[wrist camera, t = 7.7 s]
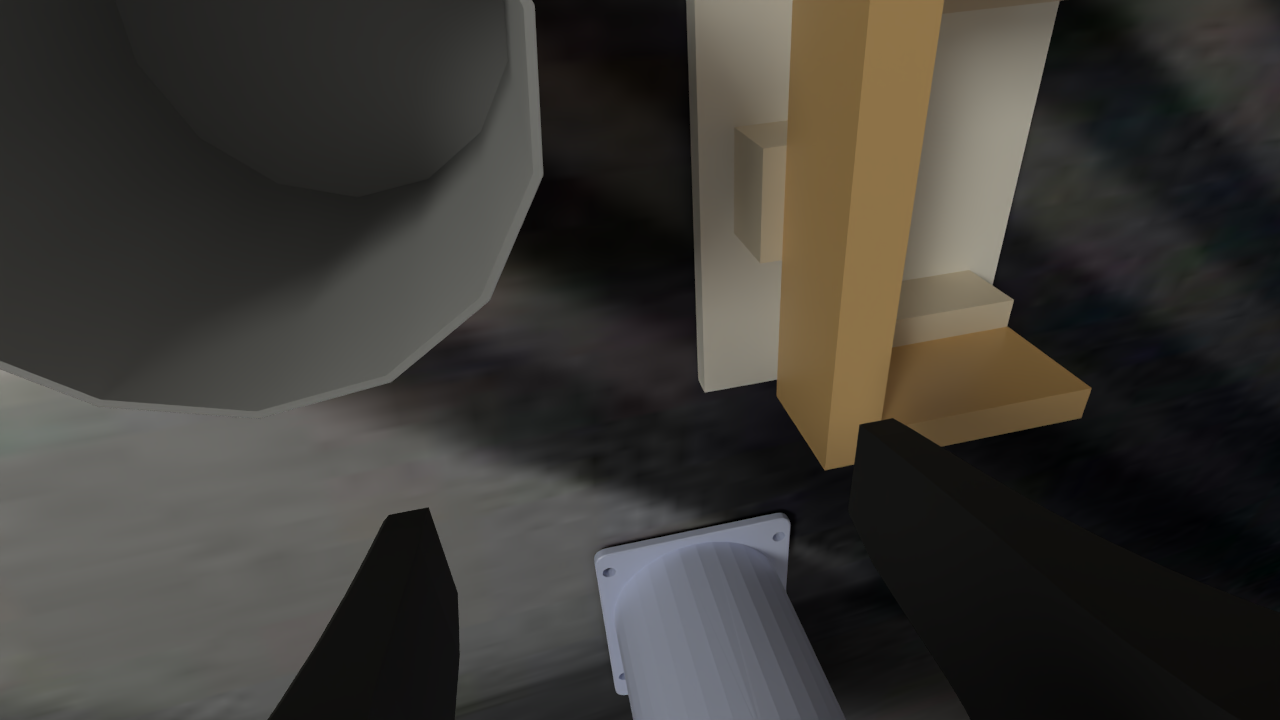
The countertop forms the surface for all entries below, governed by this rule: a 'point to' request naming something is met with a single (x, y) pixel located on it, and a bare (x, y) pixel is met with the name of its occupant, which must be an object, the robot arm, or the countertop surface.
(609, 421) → the countertop surface
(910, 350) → the tan u-shaped clamp
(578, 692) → the countertop surface
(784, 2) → the display stand
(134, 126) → the cup
